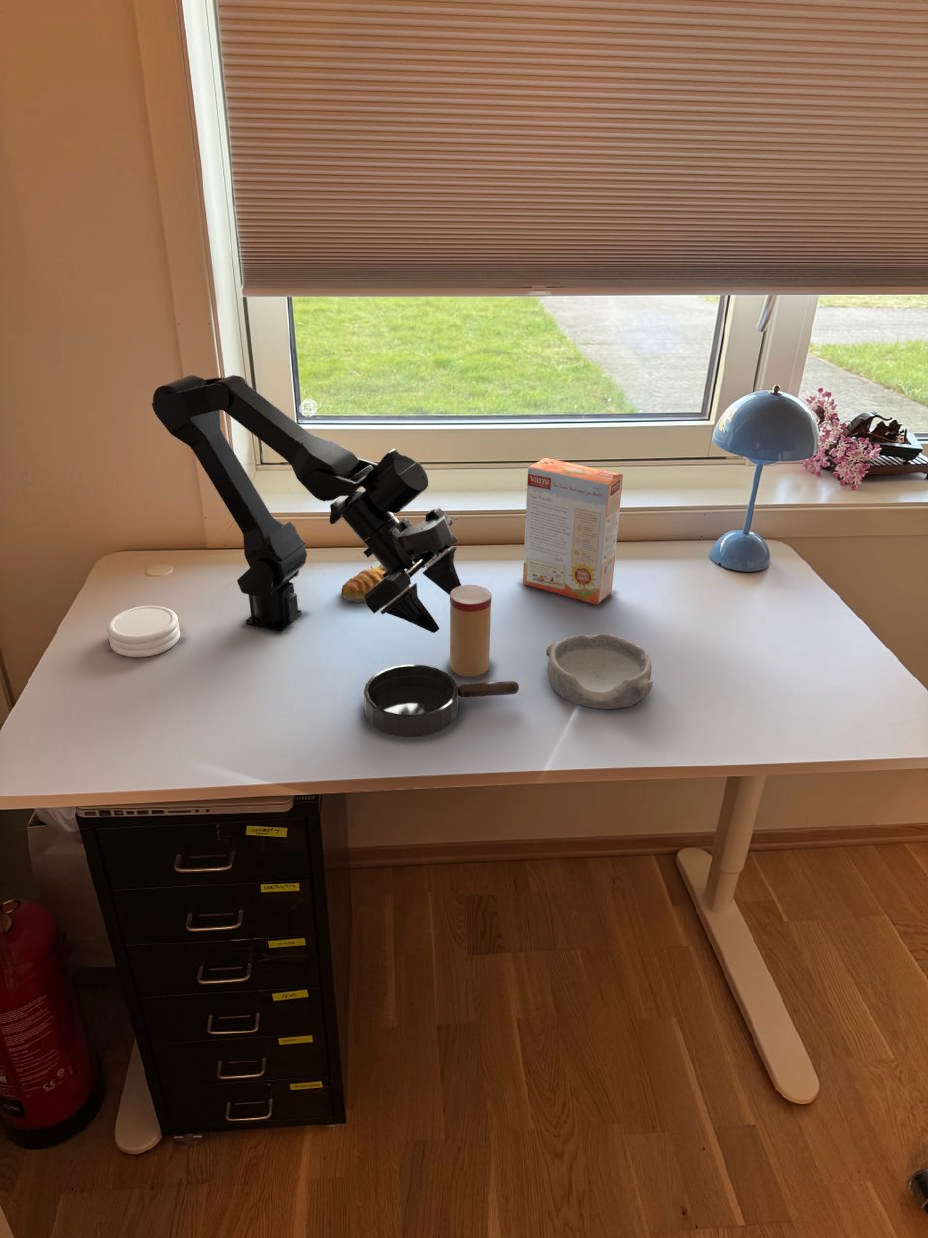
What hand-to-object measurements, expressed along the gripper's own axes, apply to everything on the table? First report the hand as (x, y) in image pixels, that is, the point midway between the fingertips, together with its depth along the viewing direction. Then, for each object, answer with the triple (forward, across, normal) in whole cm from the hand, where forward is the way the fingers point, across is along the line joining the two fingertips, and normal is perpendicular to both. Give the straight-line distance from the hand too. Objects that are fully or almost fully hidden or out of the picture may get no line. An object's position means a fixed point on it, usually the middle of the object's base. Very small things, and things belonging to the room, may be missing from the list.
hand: (450, 615), depth 130 cm
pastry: (-9, +14, +20) cm, 26 cm away
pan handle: (+11, -8, -2) cm, 13 cm away
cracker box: (+11, +29, 0) cm, 31 cm away
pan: (+6, -13, +5) cm, 15 cm away
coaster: (-25, -14, +37) cm, 47 cm away
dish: (+20, +4, -9) cm, 23 cm away
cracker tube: (+8, 0, +3) cm, 8 cm away
